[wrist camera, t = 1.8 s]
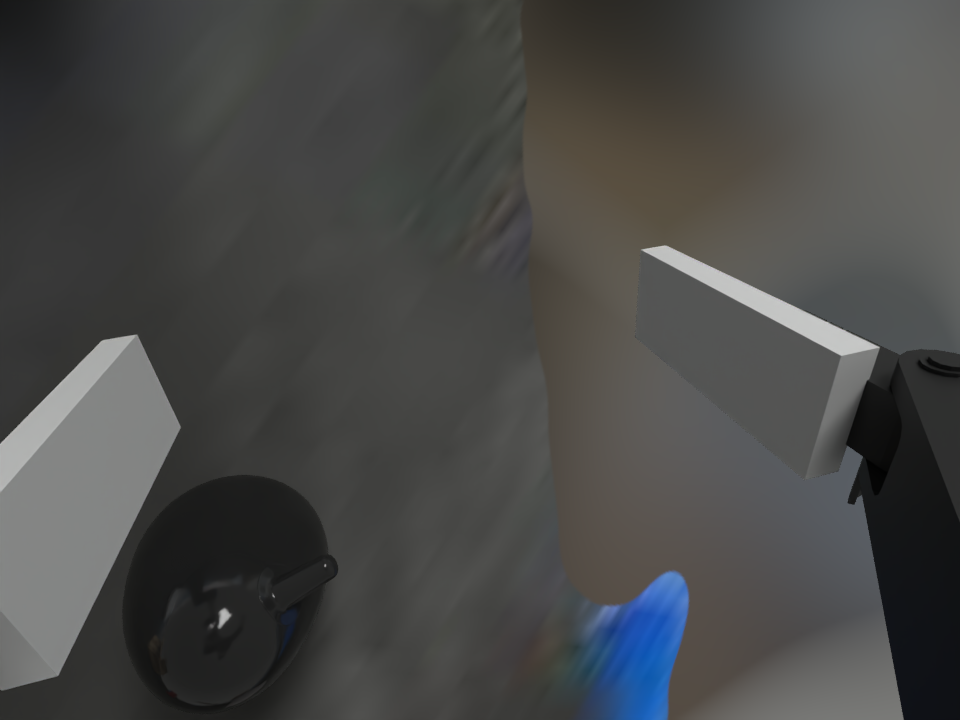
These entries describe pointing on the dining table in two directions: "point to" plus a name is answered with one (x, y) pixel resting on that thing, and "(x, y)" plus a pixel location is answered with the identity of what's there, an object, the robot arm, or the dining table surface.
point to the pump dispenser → (224, 592)
